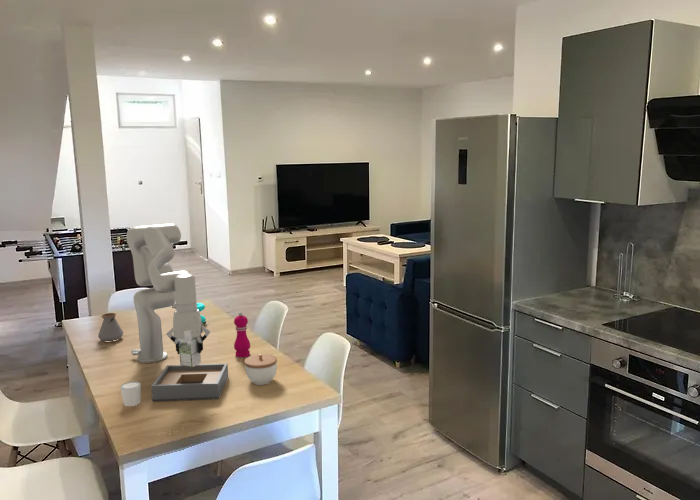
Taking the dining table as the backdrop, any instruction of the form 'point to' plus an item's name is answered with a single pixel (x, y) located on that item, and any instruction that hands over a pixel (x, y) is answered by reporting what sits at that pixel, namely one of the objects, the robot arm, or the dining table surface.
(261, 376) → the lidded bowl
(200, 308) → the donuts
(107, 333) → the coffee pot
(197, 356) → the syrup box
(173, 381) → the gray open box
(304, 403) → the dining table surface
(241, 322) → the pepper mill
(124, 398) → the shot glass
